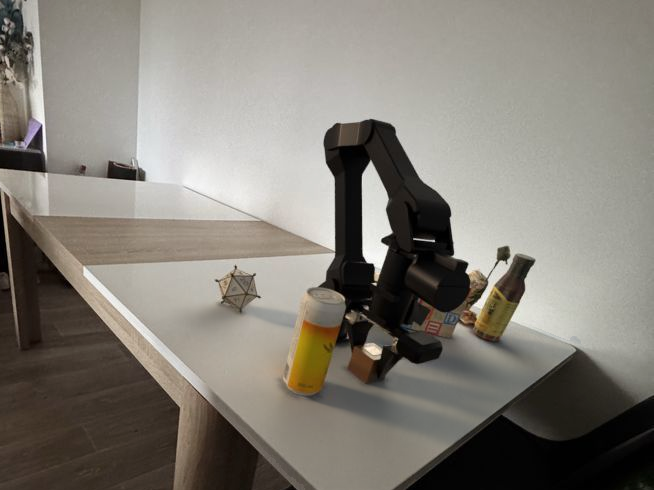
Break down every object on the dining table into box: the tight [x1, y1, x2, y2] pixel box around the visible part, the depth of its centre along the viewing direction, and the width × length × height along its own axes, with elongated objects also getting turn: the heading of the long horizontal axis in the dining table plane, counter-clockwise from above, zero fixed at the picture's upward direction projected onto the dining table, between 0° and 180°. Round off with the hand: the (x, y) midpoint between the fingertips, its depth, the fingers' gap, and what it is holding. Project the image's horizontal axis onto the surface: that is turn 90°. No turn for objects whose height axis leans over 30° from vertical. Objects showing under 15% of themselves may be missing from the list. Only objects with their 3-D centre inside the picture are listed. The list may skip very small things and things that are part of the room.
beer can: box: [282, 286, 346, 397], centre depth 56 cm, size 6×6×15 cm
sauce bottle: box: [472, 252, 536, 342], centre depth 88 cm, size 6×6×20 cm
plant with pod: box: [459, 245, 512, 325], centre depth 96 cm, size 8×11×20 cm
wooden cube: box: [347, 342, 386, 385], centre depth 65 cm, size 4×4×5 cm
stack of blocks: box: [371, 272, 473, 339], centre depth 87 cm, size 21×6×12 cm, turn 85°
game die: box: [214, 264, 262, 314], centre depth 78 cm, size 9×8×10 cm
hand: (367, 368), depth 65 cm, fingers open, 5 cm apart
